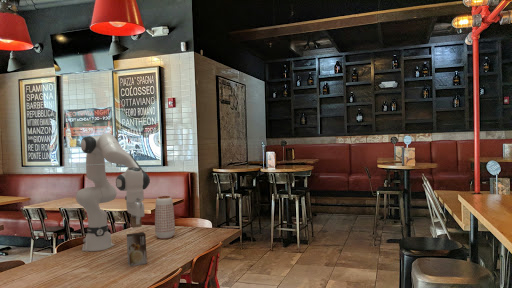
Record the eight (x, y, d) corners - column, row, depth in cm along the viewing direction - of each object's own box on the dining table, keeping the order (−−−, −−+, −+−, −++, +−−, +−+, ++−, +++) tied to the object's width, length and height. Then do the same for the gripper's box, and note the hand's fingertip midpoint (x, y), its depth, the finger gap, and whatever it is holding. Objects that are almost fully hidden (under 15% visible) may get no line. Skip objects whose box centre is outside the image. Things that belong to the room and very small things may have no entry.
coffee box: (144, 260, 204) (143, 231, 204) (147, 263, 198) (146, 233, 198) (127, 263, 199) (126, 233, 199) (129, 266, 194) (128, 236, 194)
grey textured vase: (179, 236, 257) (177, 196, 257) (164, 240, 246) (163, 198, 246) (165, 234, 264) (164, 195, 265) (151, 238, 253) (149, 197, 253)
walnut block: (130, 226, 199) (130, 217, 199) (139, 225, 202) (138, 216, 202) (133, 227, 196) (132, 218, 196) (141, 226, 198) (141, 217, 198)
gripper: (147, 198, 192) (148, 225, 192) (135, 195, 209) (136, 219, 209) (134, 200, 189) (135, 227, 188) (124, 196, 205) (124, 221, 205)
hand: (135, 223), depth 199 cm, fingers closed on walnut block, 4 cm apart
